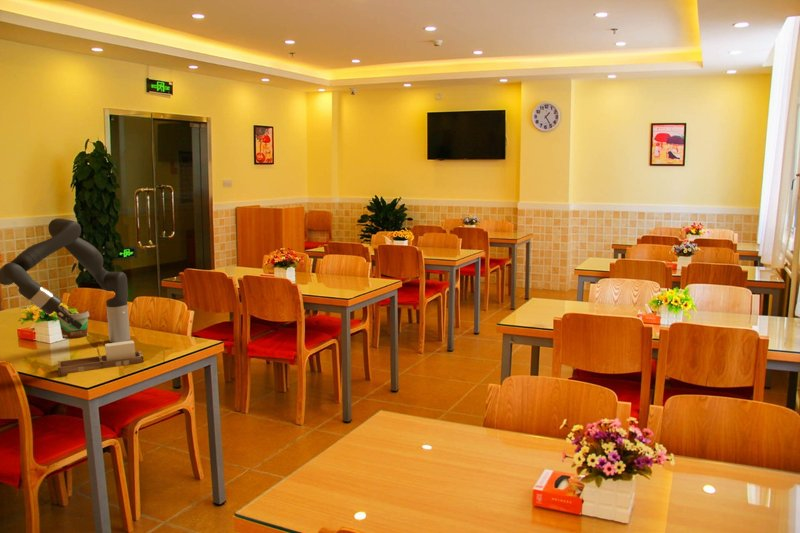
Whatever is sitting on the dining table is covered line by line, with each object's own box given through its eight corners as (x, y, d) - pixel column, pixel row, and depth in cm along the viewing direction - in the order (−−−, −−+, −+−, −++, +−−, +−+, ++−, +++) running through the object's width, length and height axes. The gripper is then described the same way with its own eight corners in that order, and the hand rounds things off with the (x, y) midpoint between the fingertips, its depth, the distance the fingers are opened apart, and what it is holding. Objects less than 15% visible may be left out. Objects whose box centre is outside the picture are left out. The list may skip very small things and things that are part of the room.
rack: (58, 369, 282) (57, 361, 281) (140, 358, 296) (140, 350, 295) (58, 376, 272) (57, 368, 272) (143, 364, 286) (143, 356, 286)
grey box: (106, 362, 287) (105, 343, 286) (134, 358, 292) (133, 340, 291) (107, 365, 283) (105, 346, 282) (135, 361, 288) (134, 342, 286)
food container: (64, 341, 272) (63, 316, 270) (58, 338, 276) (56, 314, 274) (96, 335, 281) (94, 311, 279) (89, 333, 285) (88, 309, 283)
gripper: (52, 295, 266) (88, 321, 273) (52, 290, 279) (86, 315, 286) (38, 310, 265) (74, 336, 271) (38, 304, 277) (73, 329, 284)
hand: (80, 325), depth 279 cm, fingers closed on food container, 7 cm apart
